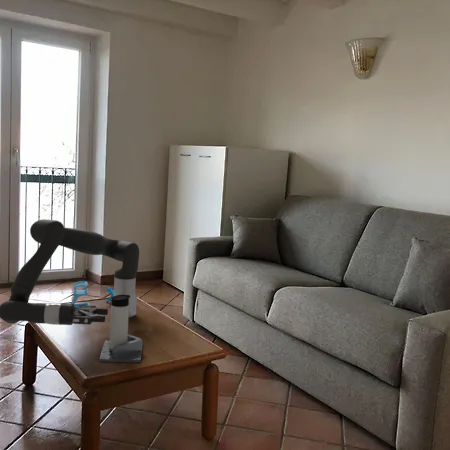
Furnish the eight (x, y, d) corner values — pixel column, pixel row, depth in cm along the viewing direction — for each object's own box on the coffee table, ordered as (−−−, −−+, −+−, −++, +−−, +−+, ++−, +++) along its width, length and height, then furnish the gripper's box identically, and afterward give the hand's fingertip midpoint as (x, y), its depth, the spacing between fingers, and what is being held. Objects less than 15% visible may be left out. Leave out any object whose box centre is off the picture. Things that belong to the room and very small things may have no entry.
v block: (98, 361, 177) (99, 347, 176) (105, 343, 195) (105, 330, 194) (140, 362, 179) (140, 348, 178) (142, 343, 196) (143, 331, 196)
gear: (121, 302, 243) (107, 287, 243) (111, 311, 243) (97, 295, 242) (124, 299, 254) (110, 284, 254) (115, 307, 254) (101, 292, 254)
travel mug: (128, 352, 184) (131, 297, 182) (109, 353, 183) (112, 297, 180) (126, 346, 190) (129, 293, 188) (108, 346, 188) (110, 293, 186)
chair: (70, 304, 241) (70, 279, 239) (88, 304, 243) (89, 279, 241) (70, 309, 233) (70, 283, 232) (89, 309, 236) (90, 283, 234)
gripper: (55, 309, 175) (104, 310, 177) (63, 298, 189) (109, 299, 191) (55, 330, 176) (103, 332, 178) (63, 318, 190) (108, 319, 192)
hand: (106, 315), depth 184 cm, fingers open, 8 cm apart
